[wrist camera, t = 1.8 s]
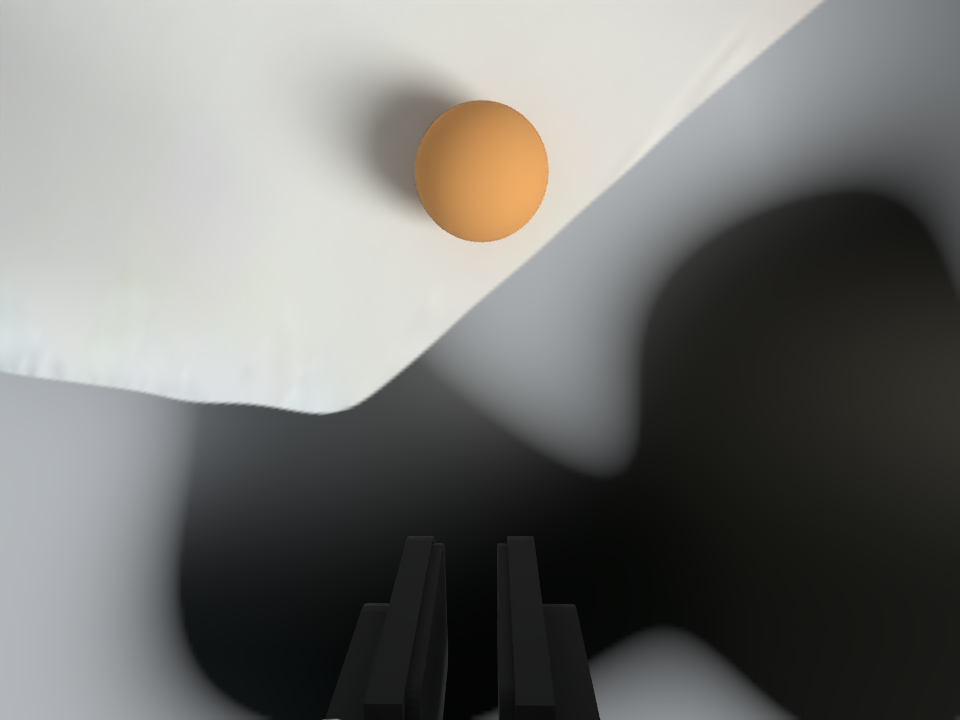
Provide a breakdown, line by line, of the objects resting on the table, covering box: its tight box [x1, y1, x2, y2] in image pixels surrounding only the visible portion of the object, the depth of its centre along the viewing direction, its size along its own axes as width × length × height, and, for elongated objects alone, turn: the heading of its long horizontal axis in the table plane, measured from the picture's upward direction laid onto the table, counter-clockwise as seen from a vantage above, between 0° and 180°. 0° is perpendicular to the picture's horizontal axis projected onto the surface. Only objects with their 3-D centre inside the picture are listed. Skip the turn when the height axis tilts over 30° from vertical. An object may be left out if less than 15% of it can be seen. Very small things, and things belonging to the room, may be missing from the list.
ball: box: [415, 100, 548, 242], centre depth 24 cm, size 6×6×6 cm
